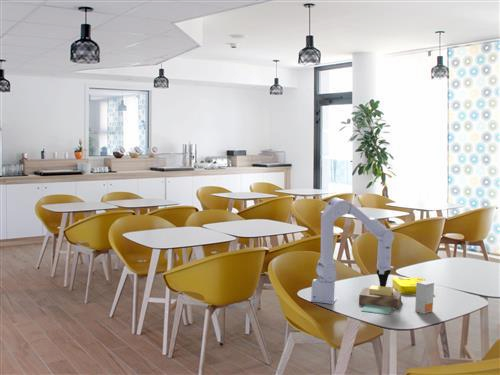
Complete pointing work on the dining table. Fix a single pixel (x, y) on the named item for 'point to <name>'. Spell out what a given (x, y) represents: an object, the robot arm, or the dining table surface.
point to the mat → (376, 309)
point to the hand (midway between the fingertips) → (382, 286)
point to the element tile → (406, 285)
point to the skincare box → (424, 297)
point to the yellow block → (381, 290)
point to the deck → (380, 299)
